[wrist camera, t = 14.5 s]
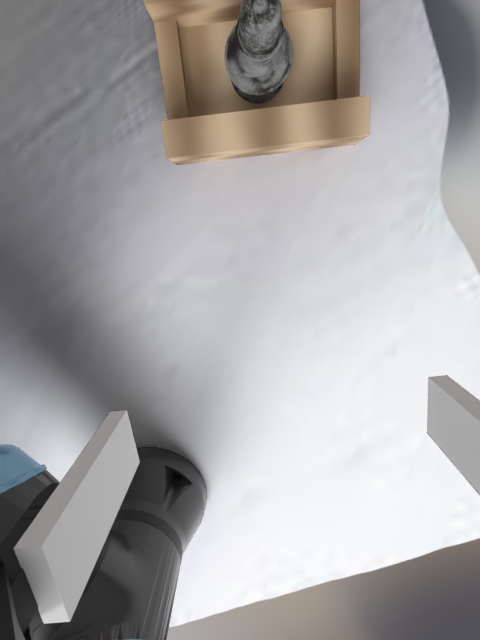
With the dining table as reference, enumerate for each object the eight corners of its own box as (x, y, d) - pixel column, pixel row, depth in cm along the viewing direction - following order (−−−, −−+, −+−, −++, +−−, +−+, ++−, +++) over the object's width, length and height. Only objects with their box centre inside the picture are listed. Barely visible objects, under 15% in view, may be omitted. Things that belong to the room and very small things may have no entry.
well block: (178, 166, 36) (166, 158, 31) (155, -2, 32) (136, -45, 27) (352, 146, 35) (369, 134, 30) (351, -31, 31) (371, -81, 26)
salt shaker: (295, 95, 33) (318, 32, 22) (237, 115, 34) (229, 65, 22) (280, 25, 32) (295, -83, 20) (219, 48, 32) (200, -44, 21)
